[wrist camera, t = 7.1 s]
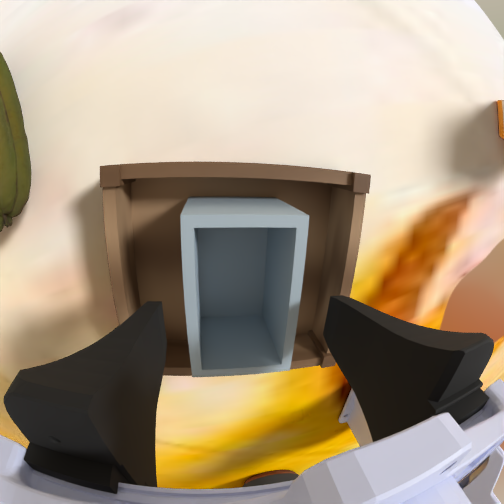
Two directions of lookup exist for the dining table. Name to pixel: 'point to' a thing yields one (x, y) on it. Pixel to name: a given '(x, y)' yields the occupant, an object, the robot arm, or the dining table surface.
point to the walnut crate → (227, 185)
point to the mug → (271, 478)
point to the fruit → (12, 151)
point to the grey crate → (242, 283)
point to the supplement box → (501, 117)
